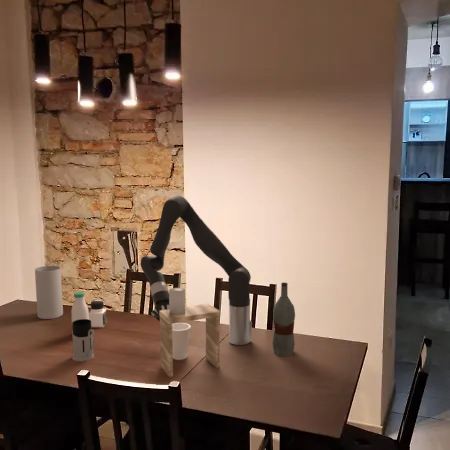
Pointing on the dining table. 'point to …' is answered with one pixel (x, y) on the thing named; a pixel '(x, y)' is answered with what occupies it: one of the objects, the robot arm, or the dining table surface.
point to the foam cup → (180, 340)
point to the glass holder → (82, 340)
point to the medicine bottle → (97, 314)
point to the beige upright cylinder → (177, 301)
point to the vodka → (283, 324)
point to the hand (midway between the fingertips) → (169, 329)
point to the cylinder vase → (49, 292)
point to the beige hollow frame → (190, 315)
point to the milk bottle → (79, 308)
